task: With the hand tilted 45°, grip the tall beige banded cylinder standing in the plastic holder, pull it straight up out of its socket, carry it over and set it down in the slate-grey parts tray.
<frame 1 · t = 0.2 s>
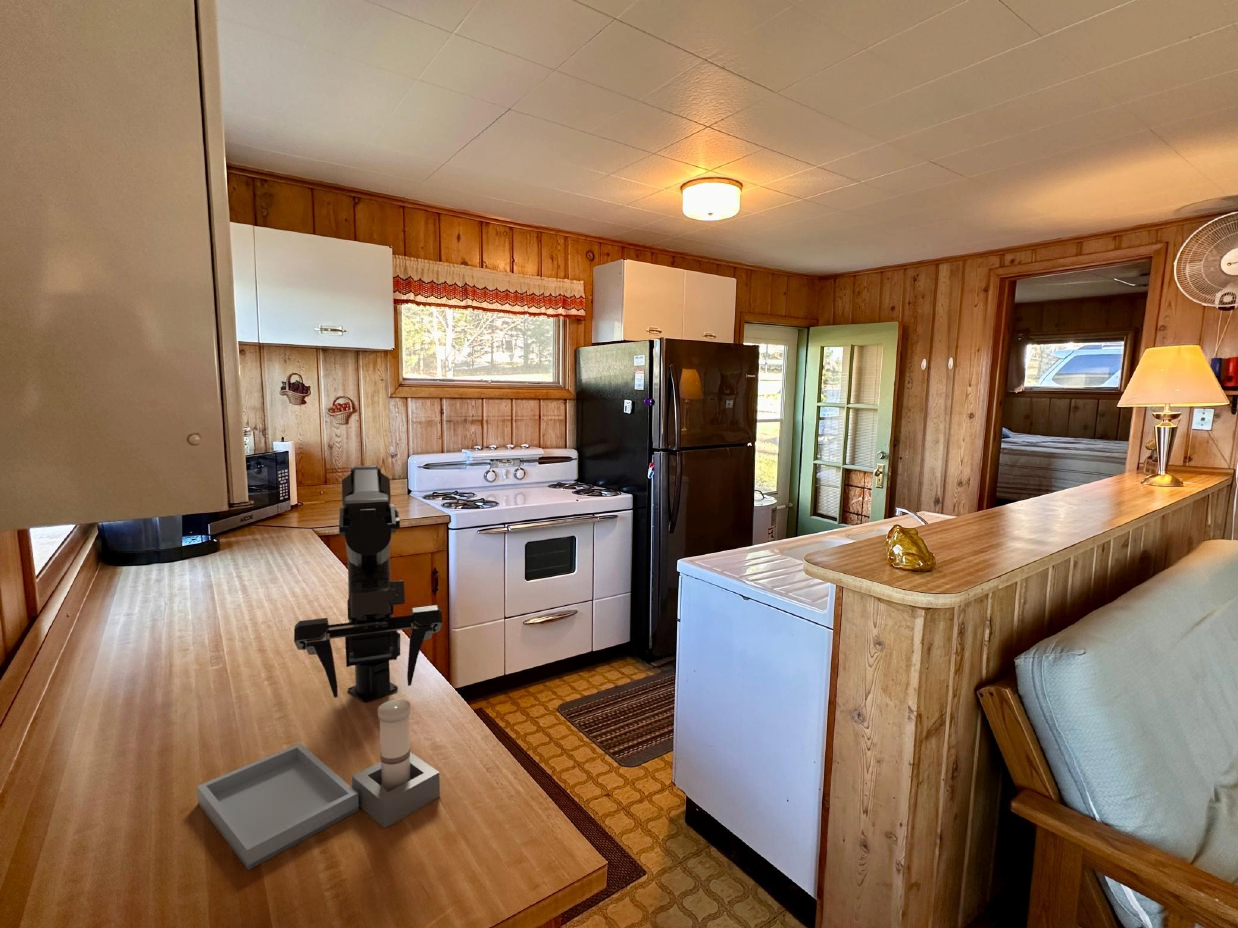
hand: (373, 691, 82), 14 cm above the counter, tool tilted 35°, fingers open, 9 cm apart
beige banded cylinder: (395, 753, 81), in the fuse holder
parts tray: (278, 807, 79), on the counter
fuse holder: (396, 798, 82), on the counter
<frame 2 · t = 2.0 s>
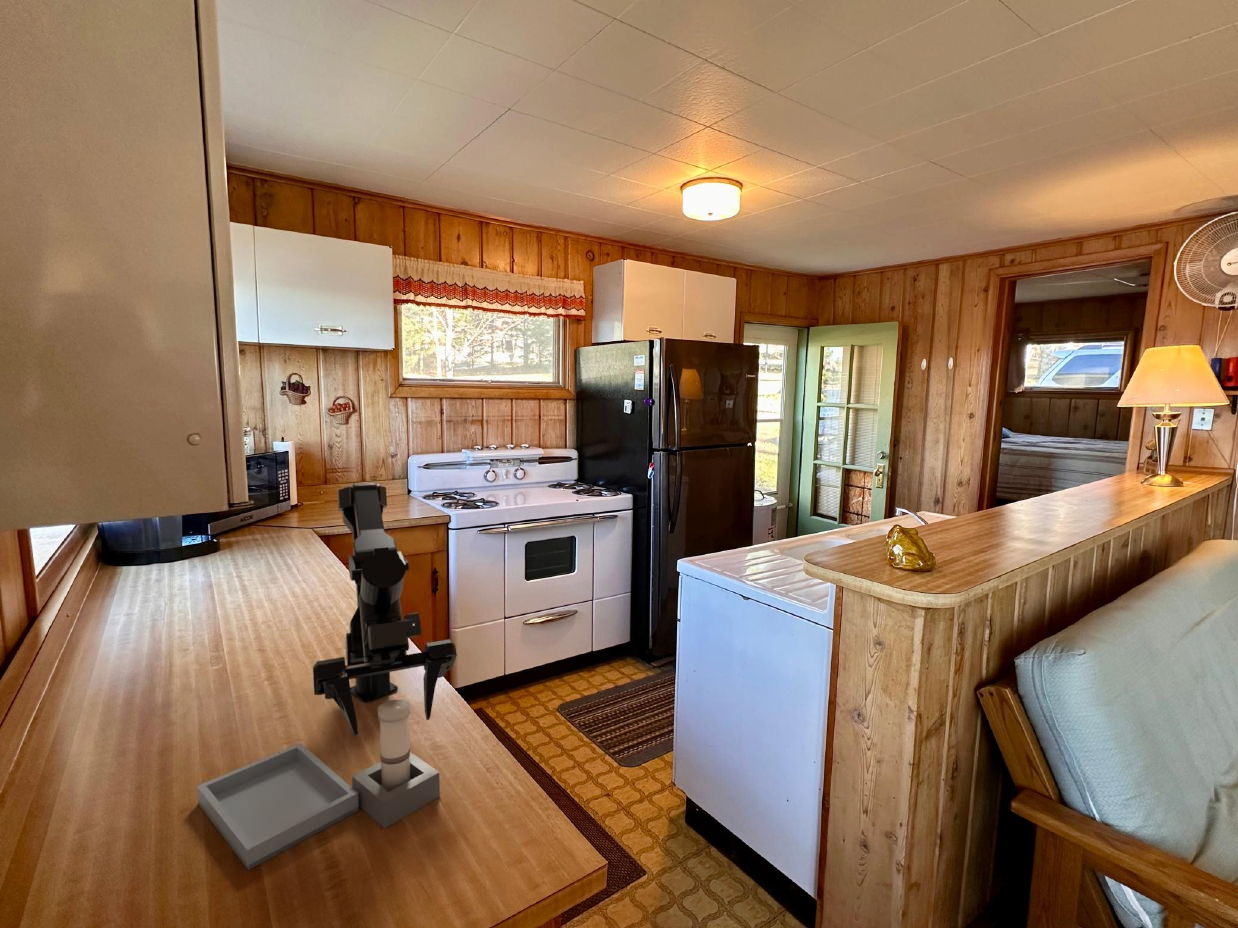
hand: (393, 726, 82), 9 cm above the counter, tool tilted 45°, fingers open, 9 cm apart
nothing on the counter moved.
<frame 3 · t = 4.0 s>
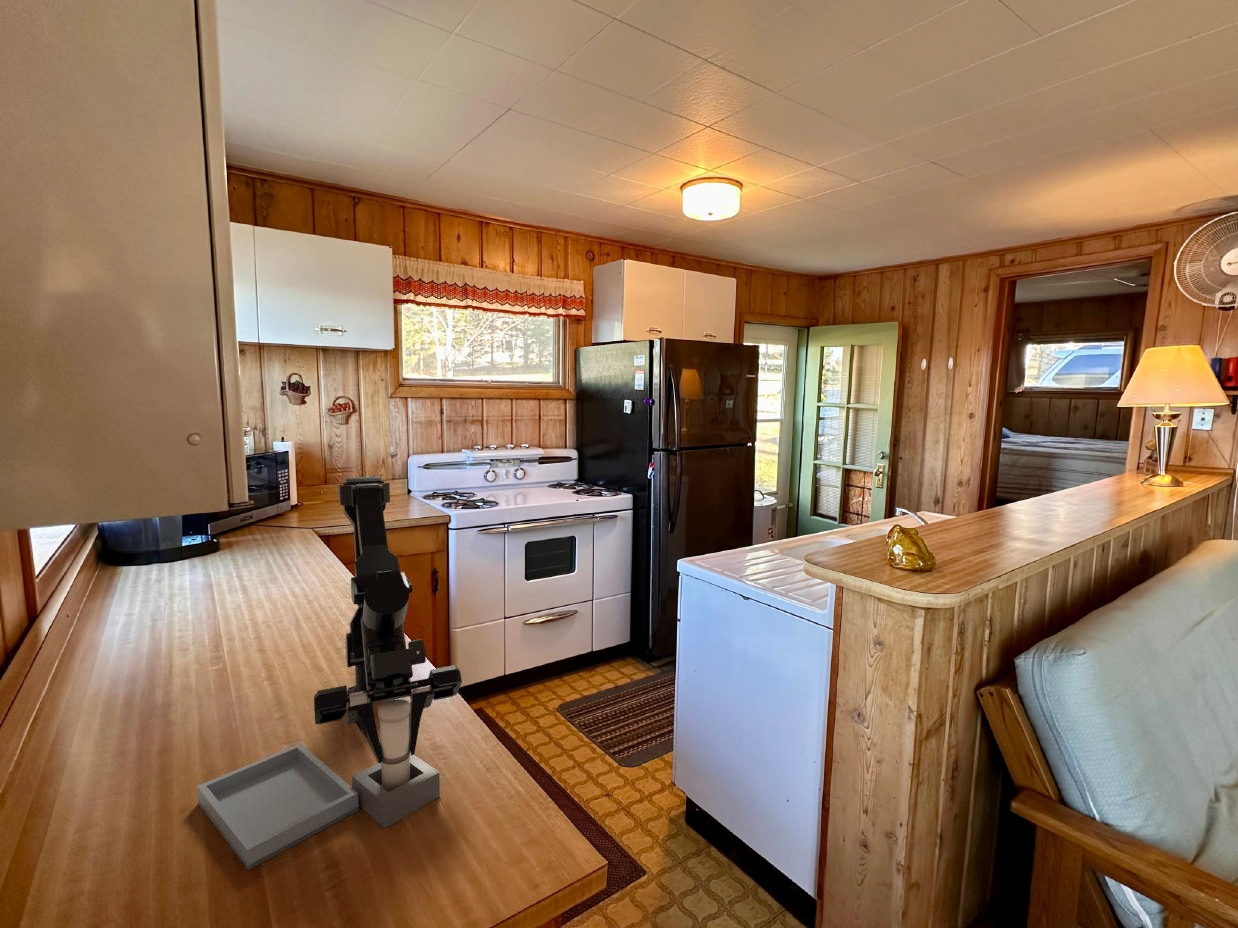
hand: (396, 758, 80), 7 cm above the counter, tool tilted 45°, fingers closed on beige banded cylinder, 4 cm apart
beige banded cylinder: (395, 753, 81), in the fuse holder, touching gripper
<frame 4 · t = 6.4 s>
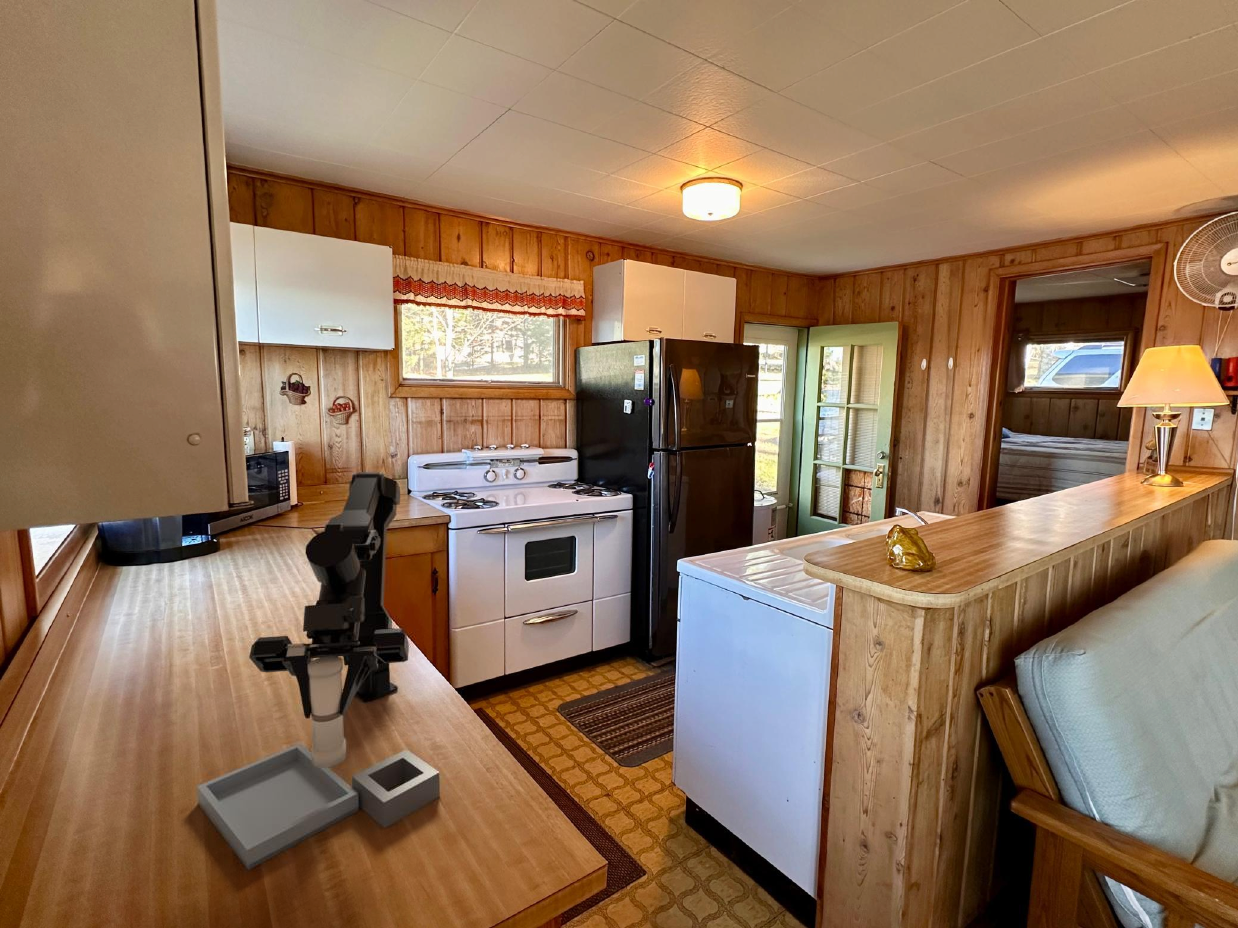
hand: (324, 715, 77), 13 cm above the counter, tool tilted 45°, fingers closed on beige banded cylinder, 4 cm apart
beige banded cylinder: (327, 711, 78), point 13 cm above the counter, touching gripper
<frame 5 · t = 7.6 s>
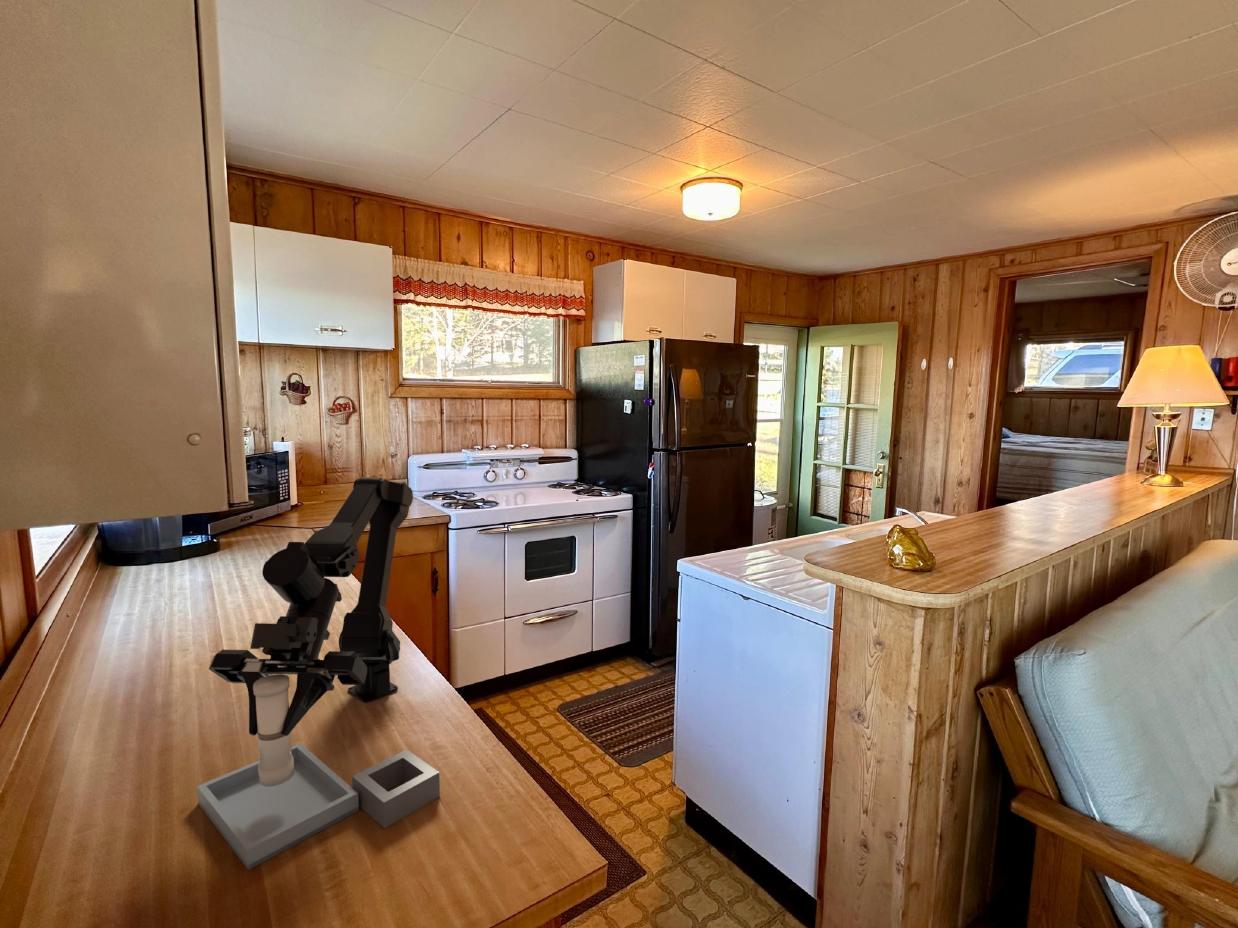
hand: (268, 734, 77), 11 cm above the counter, tool tilted 45°, fingers closed on beige banded cylinder, 4 cm apart
beige banded cylinder: (274, 729, 78), point 11 cm above the counter, touching gripper
when the fingers open (9 cm above the counter, at t = 8.8 s): beige banded cylinder drops 1 cm, resting on parts tray.
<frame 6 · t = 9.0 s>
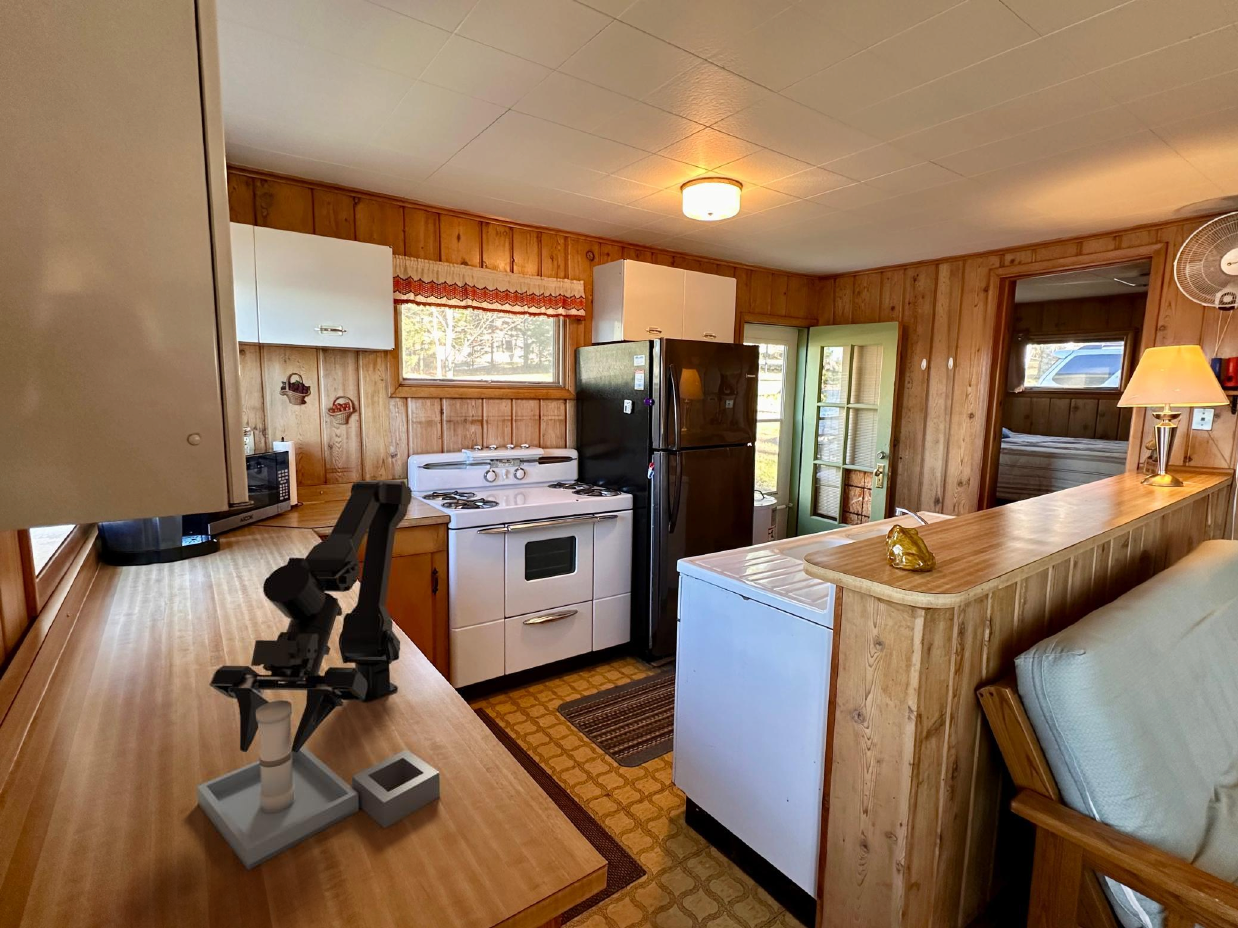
hand: (268, 751, 77), 9 cm above the counter, tool tilted 45°, fingers open, 6 cm apart
beige banded cylinder: (275, 755, 79), in the parts tray, point 7 cm above the counter
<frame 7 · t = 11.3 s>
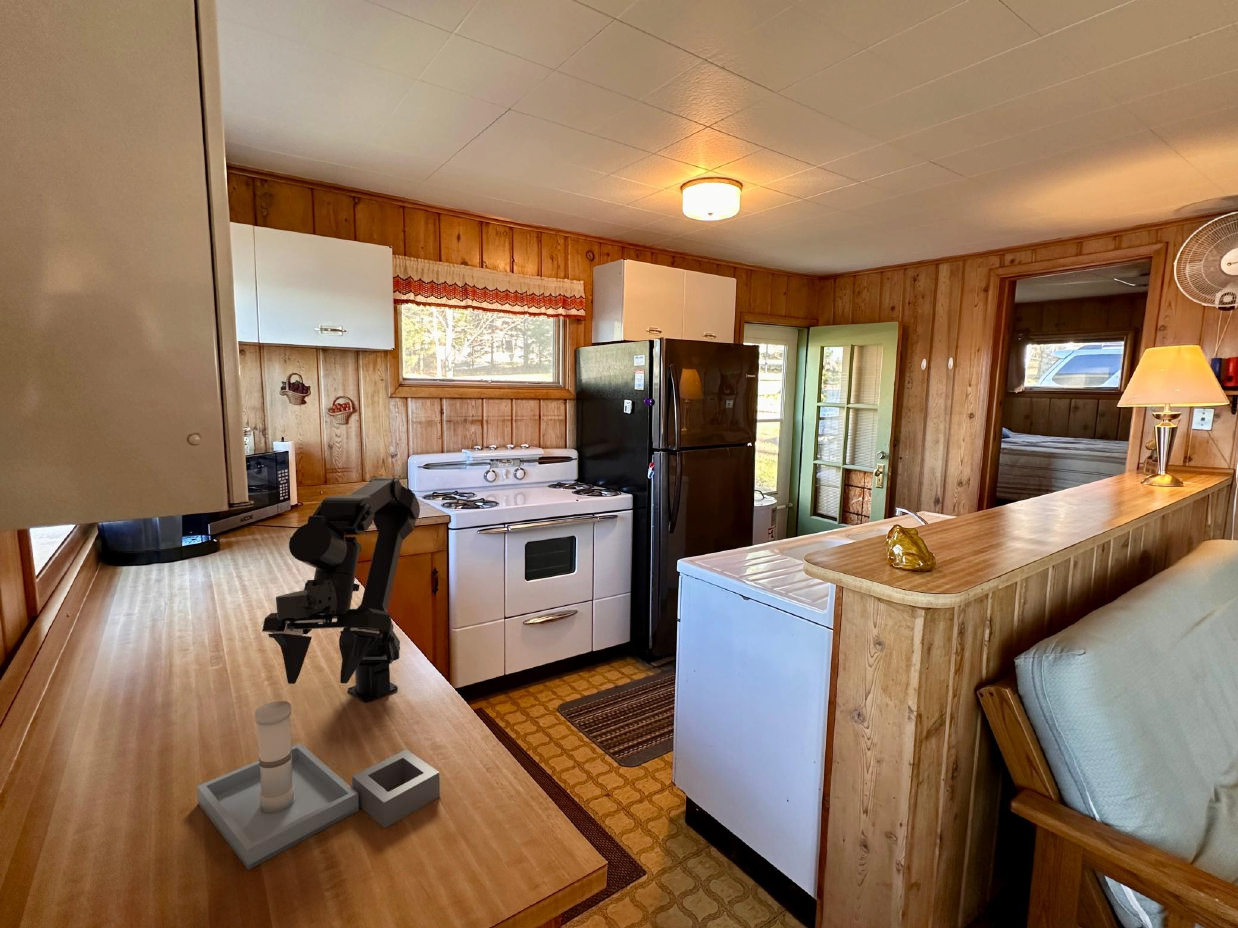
hand: (317, 683, 88), 12 cm above the counter, tool tilted 30°, fingers open, 9 cm apart
nothing on the counter moved.
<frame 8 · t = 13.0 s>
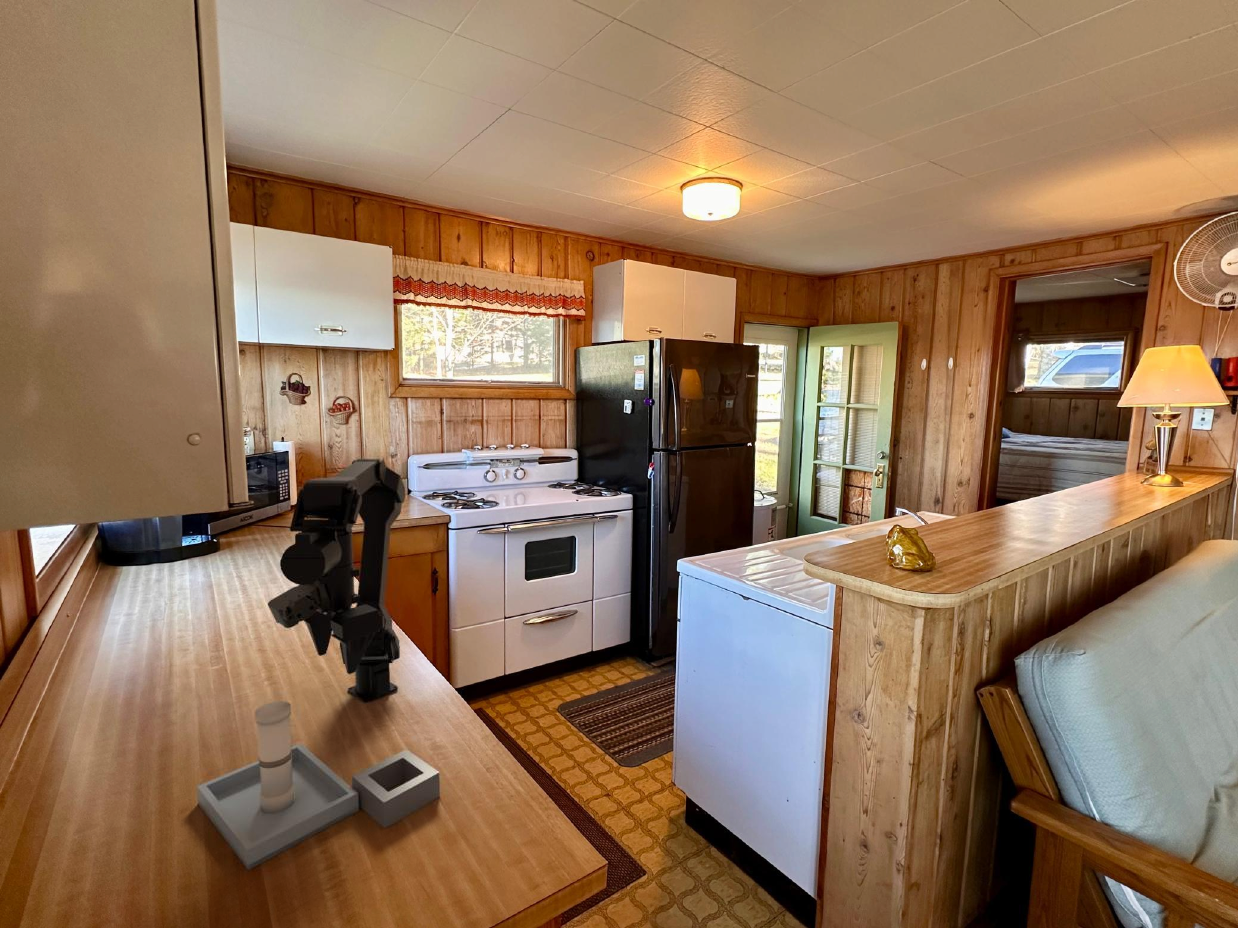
hand: (336, 663, 92), 13 cm above the counter, tool pointing down, fingers open, 9 cm apart
nothing on the counter moved.
at the end: beige banded cylinder inside the target area on the parts tray (0.0 cm from its centre), point 7.1 cm above the parts tray's base; beige banded cylinder moved 14.9 cm from its start; the gripper is holding nothing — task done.
